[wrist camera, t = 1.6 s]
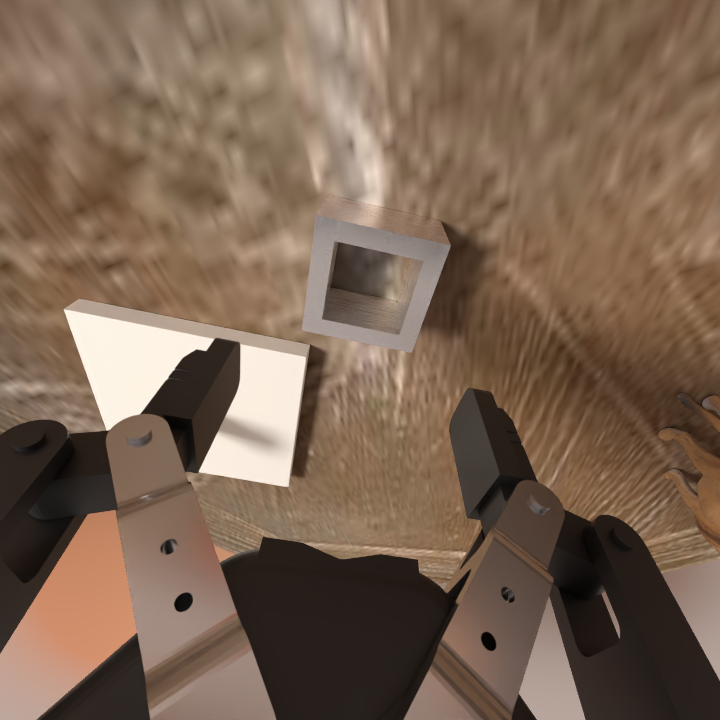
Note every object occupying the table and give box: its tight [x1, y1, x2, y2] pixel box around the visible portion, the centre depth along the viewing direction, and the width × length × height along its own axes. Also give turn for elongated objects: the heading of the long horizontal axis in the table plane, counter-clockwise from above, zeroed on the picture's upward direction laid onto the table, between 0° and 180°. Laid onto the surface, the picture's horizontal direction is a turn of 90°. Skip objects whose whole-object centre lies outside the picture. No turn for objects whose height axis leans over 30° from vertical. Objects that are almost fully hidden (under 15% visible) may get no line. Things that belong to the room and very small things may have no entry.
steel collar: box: [302, 195, 451, 353], centre depth 20 cm, size 6×6×4 cm
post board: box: [64, 299, 310, 487], centre depth 26 cm, size 16×16×8 cm
